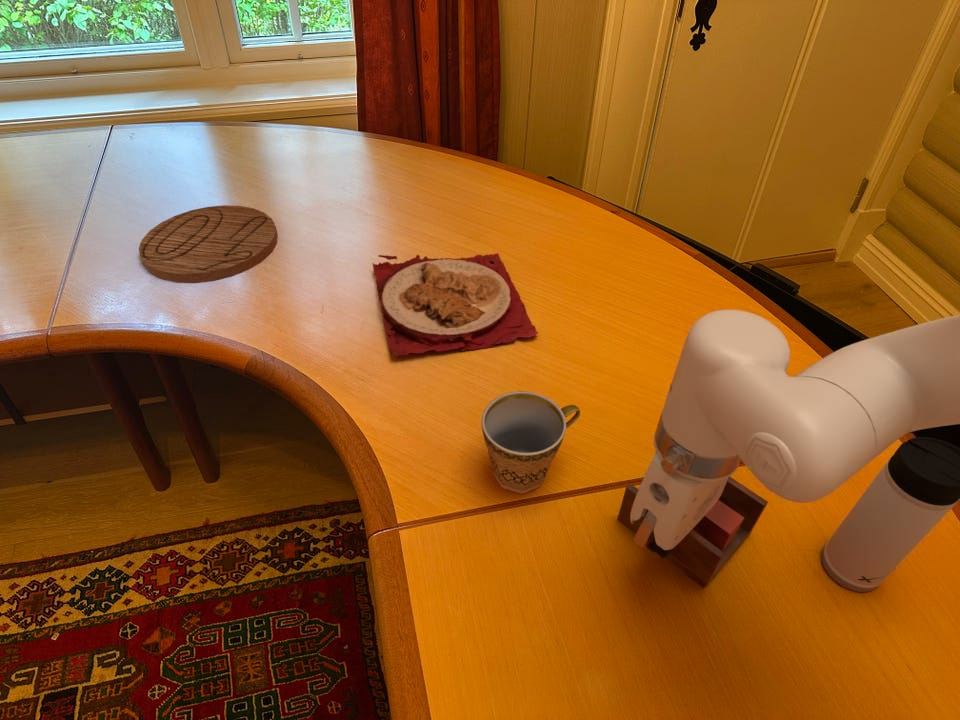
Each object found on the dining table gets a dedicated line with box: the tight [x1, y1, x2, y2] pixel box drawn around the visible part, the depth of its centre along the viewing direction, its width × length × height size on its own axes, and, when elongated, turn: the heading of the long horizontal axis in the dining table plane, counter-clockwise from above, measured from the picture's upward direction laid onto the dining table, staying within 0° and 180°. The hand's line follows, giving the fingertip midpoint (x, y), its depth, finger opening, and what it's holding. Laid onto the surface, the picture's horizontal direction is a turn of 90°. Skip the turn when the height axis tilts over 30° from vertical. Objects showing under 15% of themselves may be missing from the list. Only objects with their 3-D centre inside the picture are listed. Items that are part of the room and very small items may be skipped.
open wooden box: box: [617, 476, 769, 589], centre depth 70 cm, size 12×10×7 cm
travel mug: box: [820, 436, 960, 593], centre depth 62 cm, size 6×7×20 cm
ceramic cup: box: [481, 390, 581, 495], centre depth 75 cm, size 13×10×10 cm
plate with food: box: [372, 252, 539, 357], centre depth 103 cm, size 24×26×4 cm
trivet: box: [138, 204, 279, 284], centre depth 117 cm, size 25×25×2 cm
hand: (656, 544), depth 66 cm, fingers closed
